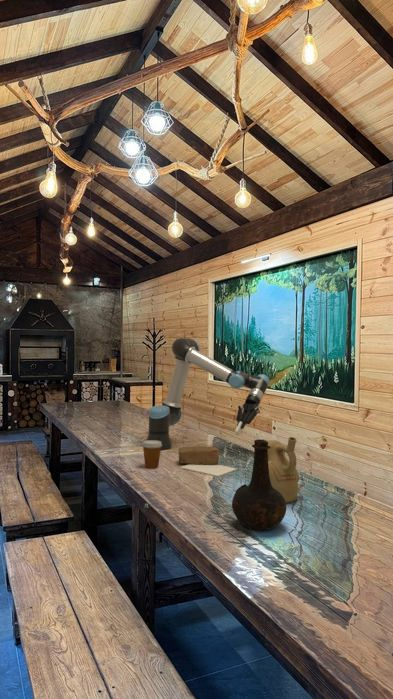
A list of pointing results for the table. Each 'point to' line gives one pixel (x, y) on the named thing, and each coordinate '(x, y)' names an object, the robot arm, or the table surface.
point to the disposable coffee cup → (152, 453)
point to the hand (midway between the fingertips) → (237, 433)
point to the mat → (210, 469)
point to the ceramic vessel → (283, 469)
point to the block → (199, 455)
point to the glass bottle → (259, 495)
